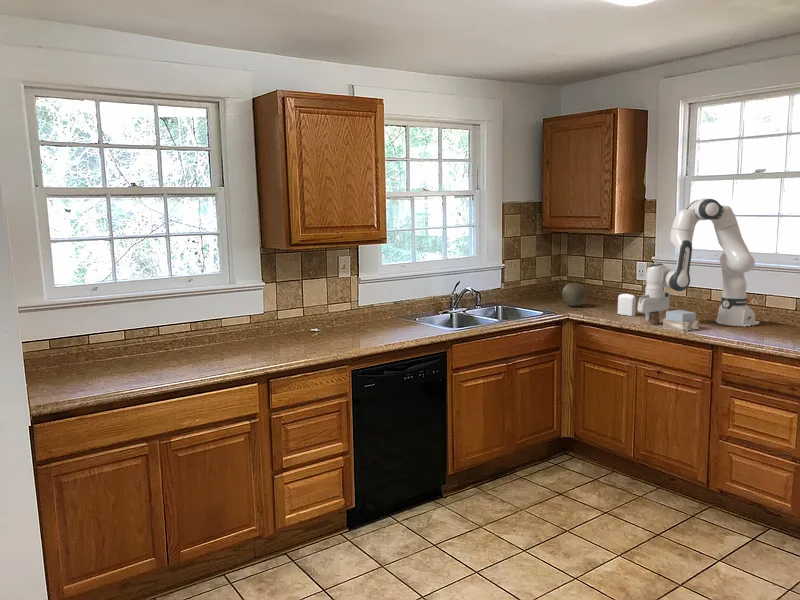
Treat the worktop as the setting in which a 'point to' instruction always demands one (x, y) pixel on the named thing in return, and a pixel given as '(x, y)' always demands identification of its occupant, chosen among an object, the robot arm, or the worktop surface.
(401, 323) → the worktop surface
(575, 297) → the grey ball
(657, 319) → the walnut block
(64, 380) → the worktop surface
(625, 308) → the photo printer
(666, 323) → the ash base slab
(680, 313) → the slate top block
